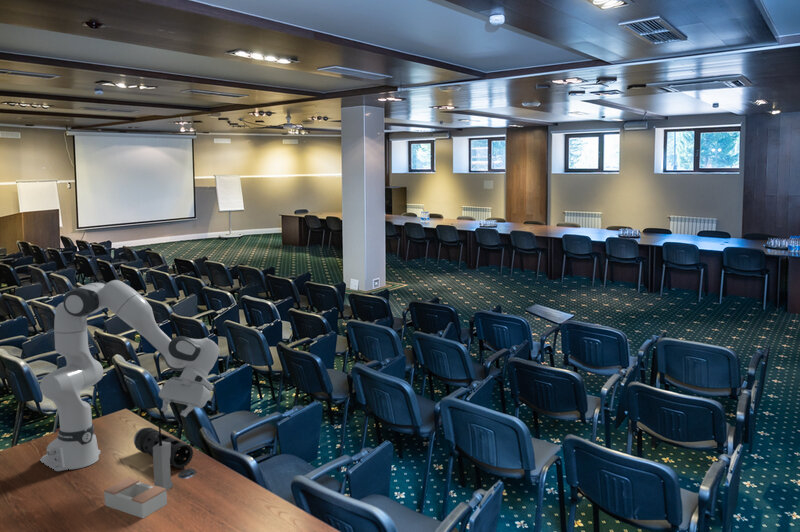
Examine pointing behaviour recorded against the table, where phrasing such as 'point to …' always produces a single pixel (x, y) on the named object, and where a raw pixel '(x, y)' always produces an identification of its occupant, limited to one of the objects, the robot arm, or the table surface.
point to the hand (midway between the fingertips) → (172, 413)
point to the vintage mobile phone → (162, 463)
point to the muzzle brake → (150, 438)
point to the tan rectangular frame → (135, 497)
